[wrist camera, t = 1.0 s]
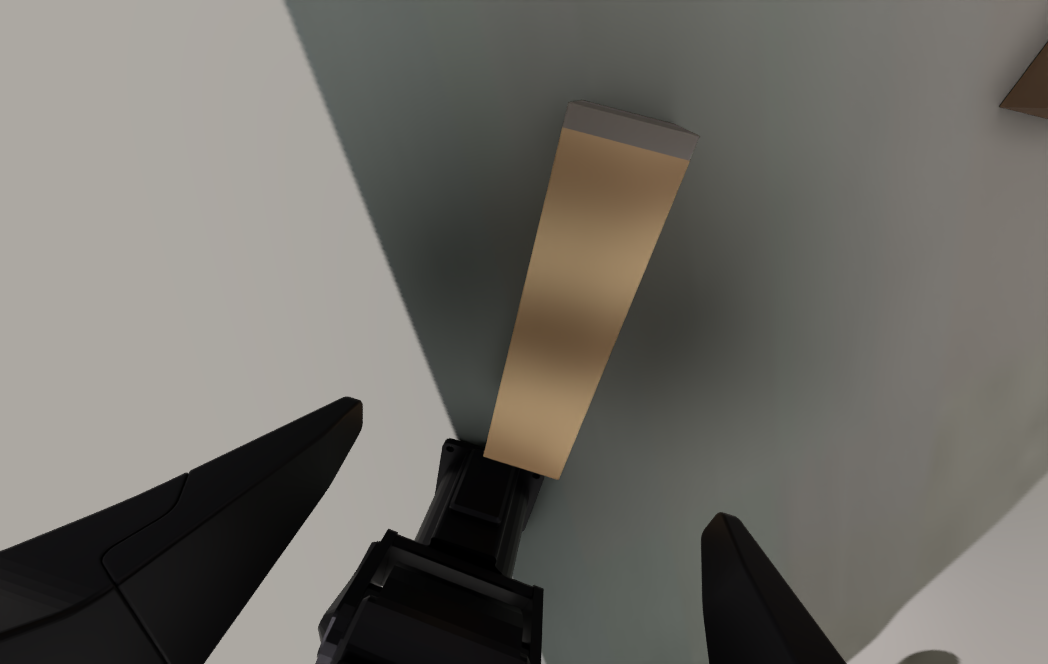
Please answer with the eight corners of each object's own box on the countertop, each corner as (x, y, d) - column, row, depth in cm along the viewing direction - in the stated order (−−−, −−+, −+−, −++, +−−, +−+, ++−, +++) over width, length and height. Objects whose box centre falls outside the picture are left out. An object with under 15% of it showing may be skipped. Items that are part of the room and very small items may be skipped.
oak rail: (569, 406, 22) (558, 480, 18) (508, 387, 22) (483, 456, 18) (675, 124, 15) (700, 136, 10) (581, 99, 15) (568, 102, 11)
